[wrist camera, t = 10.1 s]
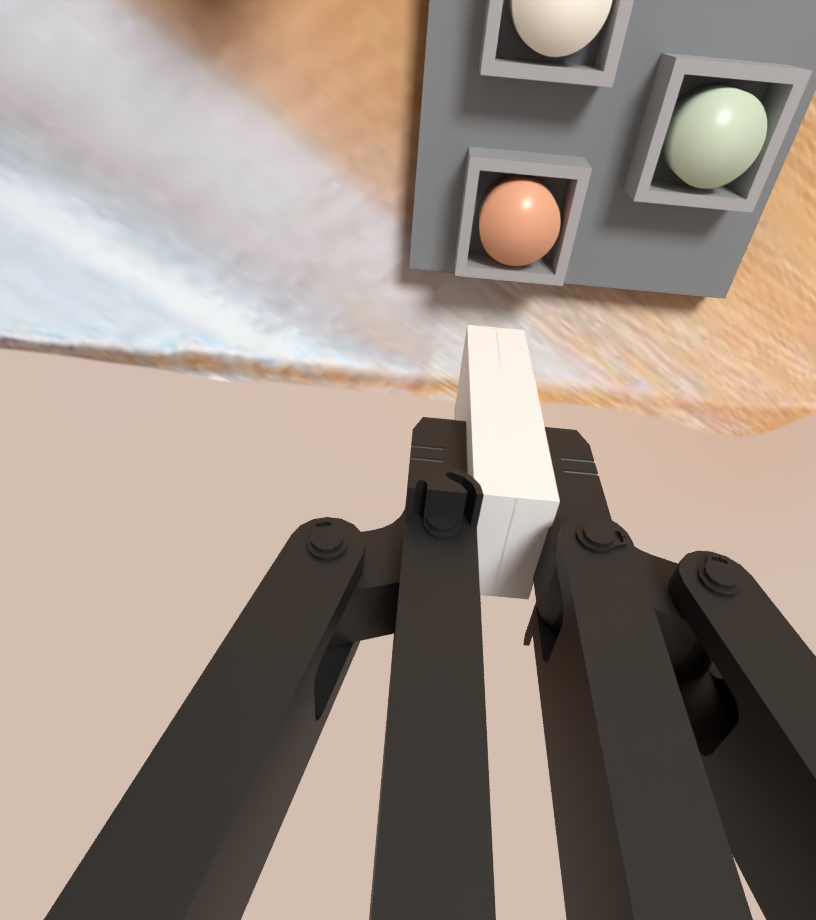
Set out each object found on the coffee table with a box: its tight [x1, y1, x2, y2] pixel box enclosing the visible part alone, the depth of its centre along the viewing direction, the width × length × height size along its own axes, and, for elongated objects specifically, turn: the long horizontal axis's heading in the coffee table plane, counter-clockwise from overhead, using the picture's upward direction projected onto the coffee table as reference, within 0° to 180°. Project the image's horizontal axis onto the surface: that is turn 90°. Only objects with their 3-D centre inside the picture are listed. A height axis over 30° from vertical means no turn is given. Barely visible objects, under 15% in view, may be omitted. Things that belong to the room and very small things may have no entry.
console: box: [409, 0, 816, 299], centre depth 31 cm, size 20×18×4 cm
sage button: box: [661, 83, 767, 189], centre depth 30 cm, size 4×4×2 cm
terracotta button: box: [478, 173, 561, 266], centre depth 34 cm, size 4×4×2 cm
